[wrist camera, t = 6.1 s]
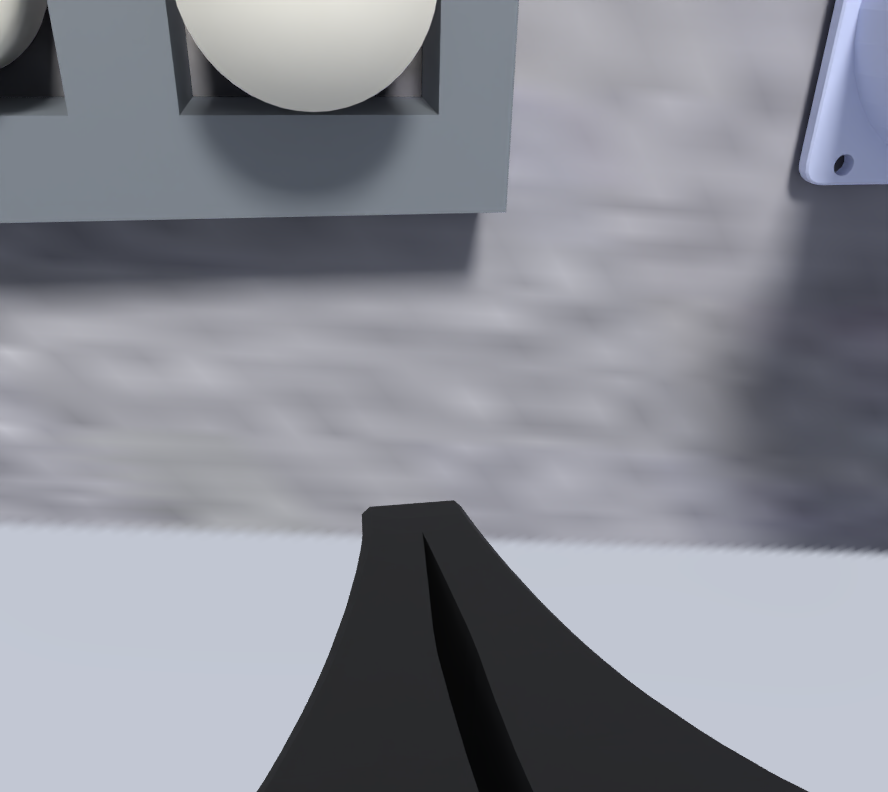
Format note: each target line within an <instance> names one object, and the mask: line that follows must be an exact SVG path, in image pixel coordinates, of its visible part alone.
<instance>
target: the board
mask: <svg viewBox="0 0 888 792" xmlns="http://www.w3.org/2000/svg"><path fill="white" fill-rule="evenodd" d="M47 4H48V9H49V15H50V20H51V26H52V31H53V36H54V42H55V47H56V53H57V58H58V63H59V69H60V74H61V79H62V85H63V90H64V96H65V97H0V223H31V222H77V221H123V220H170V219H216V218H263V217H309V216H356V215H402V214H449V213H495V212H506V204H507V188H508V171H509V155H510V138H511V122H512V105H513V89H514V72H515V56H516V39H517V23H518V6H519V0H437V1H436V6H435V12H434V15H433V18H432V21H431V24H430V27H429V30H428V32H427V35H426V37H425V39H424V41H423V53H422V97H370V98H368V99H367V100H365V101H363V102H360V103H358V104H355V105H352V106H349V107H347V108H342V109H337V110H332V111H322V112H306V111H295V110H290V109H285V108H281V107H278V106H275V105H272V104H269V103H266V102H264V101H262V100H260V99H258V98H256V97H193V95H192V86H191V77H190V69H189V60H188V51H187V43H186V34H185V25H184V21H183V19H182V17H181V14H180V12H179V10H178V7H177V4H176V0H47Z"/></svg>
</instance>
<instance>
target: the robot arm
mask: <svg viewBox="0 0 888 792" xmlns="http://www.w3.org/2000/svg"><path fill="white" fill-rule="evenodd" d="M842 155H844V163H843V165H842V167H841V168H840V169H839V170H838V171H835V172H834V164H835V162H836V160H837V159H838V158H839V157H840V156H842ZM799 172H800V174H801V177H802V178H803V179H805V180H806V181H808V182H810V183H812V184H816V185H860V184H888V0H836V2H835V6H834V11H833V15H832V20H831V24H830V29H829V33H828V37H827V42H826V46H825V51H824V55H823V60H822V64H821V68H820V73H819V77H818V82H817V86H816V91H815V95H814V99H813V104H812V108H811V113H810V117H809V122H808V126H807V130H806V135H805V139H804V144H803V148H802V153H801V157H800V161H799ZM362 532H363V536H362V545H361V551H360V556H359V561H358V566H357V571H356V574H355V578H354V582H353V585H352V589H351V592H350V596H349V599H348V603H347V606H346V609H345V613H344V615H343V618H342V621H341V623H340V626H339V629H338V631H337V634H336V637H335V639H334V642H333V645H332V648H331V650H330V653H329V656H328V658H327V660H326V663H325V665H324V667H323V670H322V672H321V674H320V676H319V679H318V681H317V683H316V685H315V688H314V690H313V692H312V694H311V696H310V698H309V700H308V702H307V704H306V706H305V708H304V710H303V713H302V714H301V716H300V718H299V720H298V722H297V724H296V725H295V727H294V729H293V731H292V733H291V735H290V737H289V738H288V740H287V742H286V744H285V746H284V748H283V750H282V751H281V753H280V755H279V757H278V758H277V760H276V762H275V763H274V765H273V767H272V768H271V770H270V772H269V773H268V775H267V777H266V778H265V780H264V782H263V783H262V785H261V786H260V788H259V789H258V791H257V792H808V791H806V790H804V789H802V788H800V787H798V786H796V785H794V784H792V783H790V782H788V781H786V780H784V779H782V778H780V777H778V776H776V775H775V774H773V773H771V772H769V771H767V770H766V769H764V768H762V767H760V766H758V765H757V764H755V763H754V762H752V761H750V760H748V759H747V758H745V757H743V756H741V755H739V754H738V753H736V752H735V751H733V750H731V749H729V748H728V747H726V746H724V745H722V744H721V743H719V742H718V741H716V740H714V739H713V738H711V737H710V736H708V735H707V734H705V733H703V732H702V731H700V730H698V729H697V728H696V727H694V726H693V725H691V724H690V723H688V722H687V721H685V720H684V719H682V718H681V717H679V716H678V715H676V714H675V713H674V712H672V711H671V710H669V709H668V708H666V707H665V706H663V705H662V704H660V703H659V702H657V701H656V700H654V699H653V698H651V697H650V696H649V695H647V694H646V693H644V692H643V691H642V690H640V689H639V688H638V687H636V686H635V685H634V684H632V683H631V682H630V681H628V680H627V679H626V678H625V677H623V676H622V675H621V674H620V673H618V672H617V671H616V670H615V669H614V668H612V667H611V666H610V665H609V664H607V663H606V662H605V661H604V660H603V659H601V658H600V657H599V656H598V655H597V654H596V653H594V652H593V651H592V650H591V649H590V648H589V647H588V646H586V645H585V644H584V643H583V642H582V641H581V640H580V639H579V638H578V637H577V636H576V635H574V634H573V633H572V632H571V631H570V630H569V629H568V628H567V627H566V626H565V625H564V624H563V623H562V622H561V621H560V620H559V619H558V618H557V617H556V616H555V615H553V613H551V611H550V610H548V608H546V606H545V605H543V603H541V601H540V600H539V599H538V598H537V597H536V596H535V595H534V594H533V593H532V592H531V591H530V590H529V588H528V587H527V586H526V585H525V584H524V583H523V582H522V581H521V580H520V579H519V578H518V576H517V575H516V574H515V573H514V572H513V571H512V570H511V569H510V568H509V567H508V565H507V564H506V563H505V562H504V561H503V560H502V558H501V557H500V556H499V555H498V554H497V552H496V551H495V550H494V549H493V548H492V546H491V545H490V544H489V543H488V541H487V540H486V539H485V538H484V536H483V535H482V534H481V533H480V531H479V530H478V529H477V528H476V526H475V525H474V524H473V522H472V521H471V520H470V518H469V517H468V516H467V514H466V513H465V512H464V510H463V509H462V507H461V506H460V505H459V504H457V503H456V502H455V501H454V500H453V501H440V502H427V503H414V504H401V505H388V506H376V507H369V508H368V509H367V510H366V511H365V512H364V513H363V514H362Z"/></svg>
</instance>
